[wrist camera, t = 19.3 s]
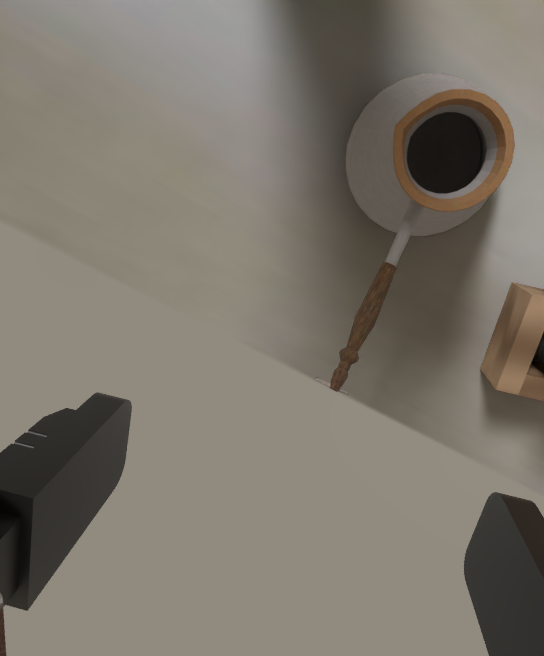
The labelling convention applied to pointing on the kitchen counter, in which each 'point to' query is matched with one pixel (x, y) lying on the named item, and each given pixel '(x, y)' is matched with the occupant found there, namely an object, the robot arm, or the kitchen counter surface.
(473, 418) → the kitchen counter surface
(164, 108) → the kitchen counter surface
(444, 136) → the coffee pot
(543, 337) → the pin
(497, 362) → the walnut block
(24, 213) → the kitchen counter surface
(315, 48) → the kitchen counter surface
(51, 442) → the robot arm
